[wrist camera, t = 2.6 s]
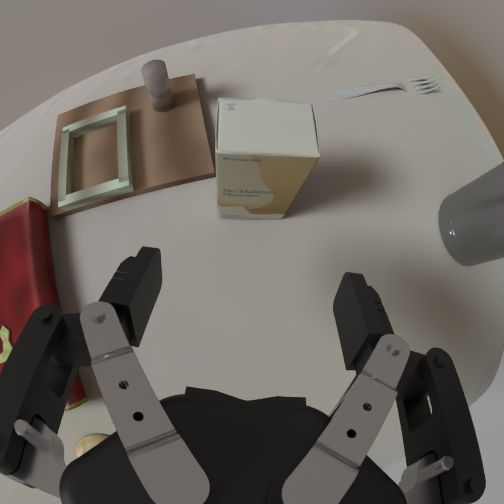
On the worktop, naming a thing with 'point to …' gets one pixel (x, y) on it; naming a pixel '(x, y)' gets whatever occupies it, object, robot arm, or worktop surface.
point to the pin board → (130, 143)
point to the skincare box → (262, 155)
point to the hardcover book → (26, 277)
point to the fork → (364, 90)
